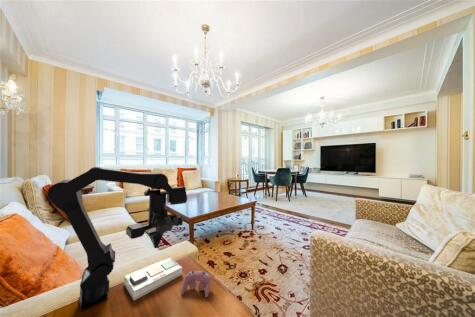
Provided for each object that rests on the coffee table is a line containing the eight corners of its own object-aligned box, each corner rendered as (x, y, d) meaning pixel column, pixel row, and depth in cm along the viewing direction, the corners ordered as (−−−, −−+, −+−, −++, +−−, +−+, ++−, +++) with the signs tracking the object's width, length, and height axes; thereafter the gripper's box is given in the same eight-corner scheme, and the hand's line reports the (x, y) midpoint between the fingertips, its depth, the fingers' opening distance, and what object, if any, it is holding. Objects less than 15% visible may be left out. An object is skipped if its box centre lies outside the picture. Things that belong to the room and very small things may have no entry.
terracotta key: (151, 282, 61) (151, 276, 61) (146, 276, 64) (146, 270, 64) (162, 276, 64) (162, 270, 64) (157, 271, 67) (157, 265, 67)
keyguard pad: (133, 300, 54) (134, 290, 54) (123, 284, 61) (124, 275, 61) (181, 274, 67) (182, 266, 67) (169, 263, 74) (169, 256, 74)
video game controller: (210, 294, 60) (213, 271, 63) (207, 298, 56) (211, 273, 59) (183, 291, 61) (187, 268, 64) (178, 295, 57) (183, 270, 60)
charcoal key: (134, 287, 57) (134, 281, 57) (129, 281, 60) (130, 275, 60) (147, 281, 60) (147, 275, 60) (142, 275, 63) (142, 269, 63)
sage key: (165, 274, 65) (166, 269, 65) (160, 269, 68) (161, 264, 68) (176, 269, 69) (176, 264, 69) (170, 264, 71) (171, 259, 71)
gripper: (138, 217, 52) (136, 269, 52) (191, 206, 66) (189, 246, 66) (126, 209, 59) (124, 254, 59) (176, 200, 73) (174, 236, 73)
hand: (155, 247), depth 64 cm, fingers closed
